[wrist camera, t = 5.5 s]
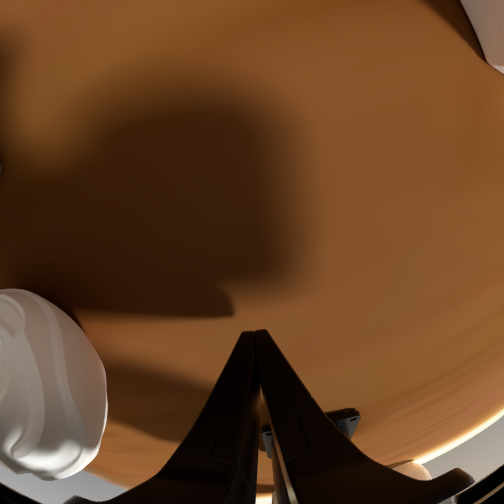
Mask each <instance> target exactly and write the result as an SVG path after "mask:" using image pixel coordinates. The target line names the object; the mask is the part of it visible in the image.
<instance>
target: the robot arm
mask: <svg viewBox="0 0 504 504" xmlns="http://www.w3.org/2000/svg"><path fill="white" fill-rule="evenodd" d="M261 389H262V393H263V398H264V402H265V406H266V410H267V414H268V418H269V422H270V426H266V427H263V428H261V435H262V439H263V442H264V446H265V449H266V453H267V456H268V458H271V459H272V468H273V480H274V491H275V503H276V504H504V464H503V465H502V466H500V467H499V468H497V469H496V470H495V471H493V472H492V473H490V474H489V475H487V476H486V477H485V478H483V479H482V480H480V481H479V482H477V483H475V484H474V485H472V484H473V483H474V482H475V480H474V479H473V477H472V476H470V475H469V474H467V473H466V472H465V471H463V470H461V469H460V468H455V469H453V470H451V471H449V472H447V473H445V474H443V475H441V476H439V477H437V478H434V479H431V480H418V479H414V478H412V477H409V476H407V475H405V474H402V473H400V472H398V471H395V470H393V469H391V468H389V467H386V466H384V465H382V464H380V463H378V462H376V461H374V460H372V459H371V458H369V457H368V456H366V455H365V454H364V453H363V452H362V451H360V450H359V449H358V448H357V447H356V446H355V445H354V444H353V443H352V442H351V437H352V435H353V433H354V431H355V429H356V427H357V424H358V422H359V420H360V418H361V417H360V413H359V411H353V412H349V413H345V414H340V415H336V416H331V417H327V416H326V414H325V413H324V412H323V411H322V409H321V408H320V407H319V405H318V404H317V402H316V401H315V400H314V398H313V397H312V396H311V394H310V393H309V391H308V390H307V388H306V387H305V385H304V384H303V383H302V381H301V380H300V378H299V377H298V375H297V374H296V372H295V371H294V370H293V368H292V367H291V365H290V364H289V362H288V361H287V359H286V358H285V356H284V355H283V353H282V352H281V350H280V349H279V347H278V346H277V344H276V343H275V341H274V340H273V338H272V337H271V335H270V334H269V332H268V331H267V330H266V329H261V330H255V332H254V331H244V332H242V333H241V335H240V337H239V339H238V341H237V343H236V345H235V347H234V349H233V351H232V353H231V355H230V357H229V359H228V361H227V363H226V365H225V367H224V368H223V370H222V372H221V374H220V376H219V378H218V380H217V382H216V384H215V386H214V388H213V390H212V392H211V394H210V396H209V398H208V399H207V401H206V403H205V405H204V407H205V408H203V409H202V411H201V413H200V414H199V416H198V418H197V420H196V422H195V423H194V425H193V427H192V428H191V430H190V431H189V433H188V434H187V436H186V437H185V439H184V440H183V441H182V443H181V444H180V445H179V447H178V448H177V449H176V451H175V452H174V453H173V455H172V456H171V457H170V459H169V460H168V461H167V463H166V464H165V465H164V466H163V468H162V469H161V470H160V471H159V472H158V473H157V474H156V475H154V476H153V477H152V478H150V479H148V480H147V481H145V482H143V483H141V484H139V485H138V486H136V487H134V488H132V489H130V490H128V491H126V492H124V493H123V494H121V495H119V496H117V497H115V498H113V499H110V500H107V501H102V502H95V501H91V500H88V499H85V498H82V497H79V496H76V495H74V496H72V497H71V498H70V499H68V500H67V501H65V502H64V503H63V504H255V502H256V484H257V465H258V446H259V425H260V402H261ZM470 485H472V486H471V487H469V486H470ZM468 487H469V488H468ZM466 488H468V489H466ZM464 489H466V490H464ZM463 490H464V491H463ZM461 491H462V492H461ZM459 492H461V493H459ZM458 493H459V494H458ZM456 494H457V495H456ZM455 495H456V496H455ZM0 504H42V503H40V502H38V501H36V500H34V499H31V498H29V497H27V496H25V495H23V494H21V493H19V492H17V491H16V490H14V489H12V488H10V487H8V486H6V485H4V484H3V483H1V482H0Z"/></svg>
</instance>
